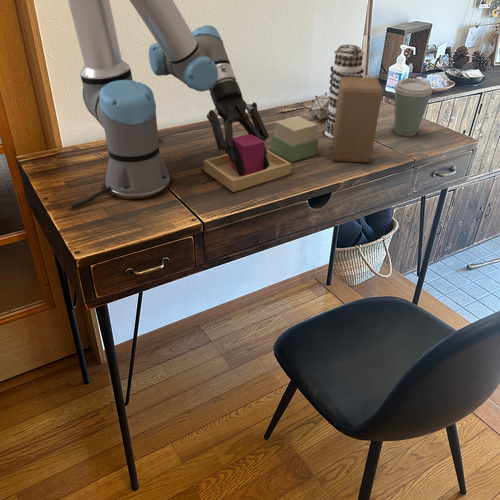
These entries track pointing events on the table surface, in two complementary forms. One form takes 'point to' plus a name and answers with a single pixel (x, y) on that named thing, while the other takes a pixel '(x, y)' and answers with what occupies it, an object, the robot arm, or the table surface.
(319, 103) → the game die
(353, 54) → the leaning tower model
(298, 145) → the sage block
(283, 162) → the tray
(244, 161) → the mulberry block
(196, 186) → the table surface
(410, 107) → the disposable coffee cup
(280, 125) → the cream block
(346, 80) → the wooden block
